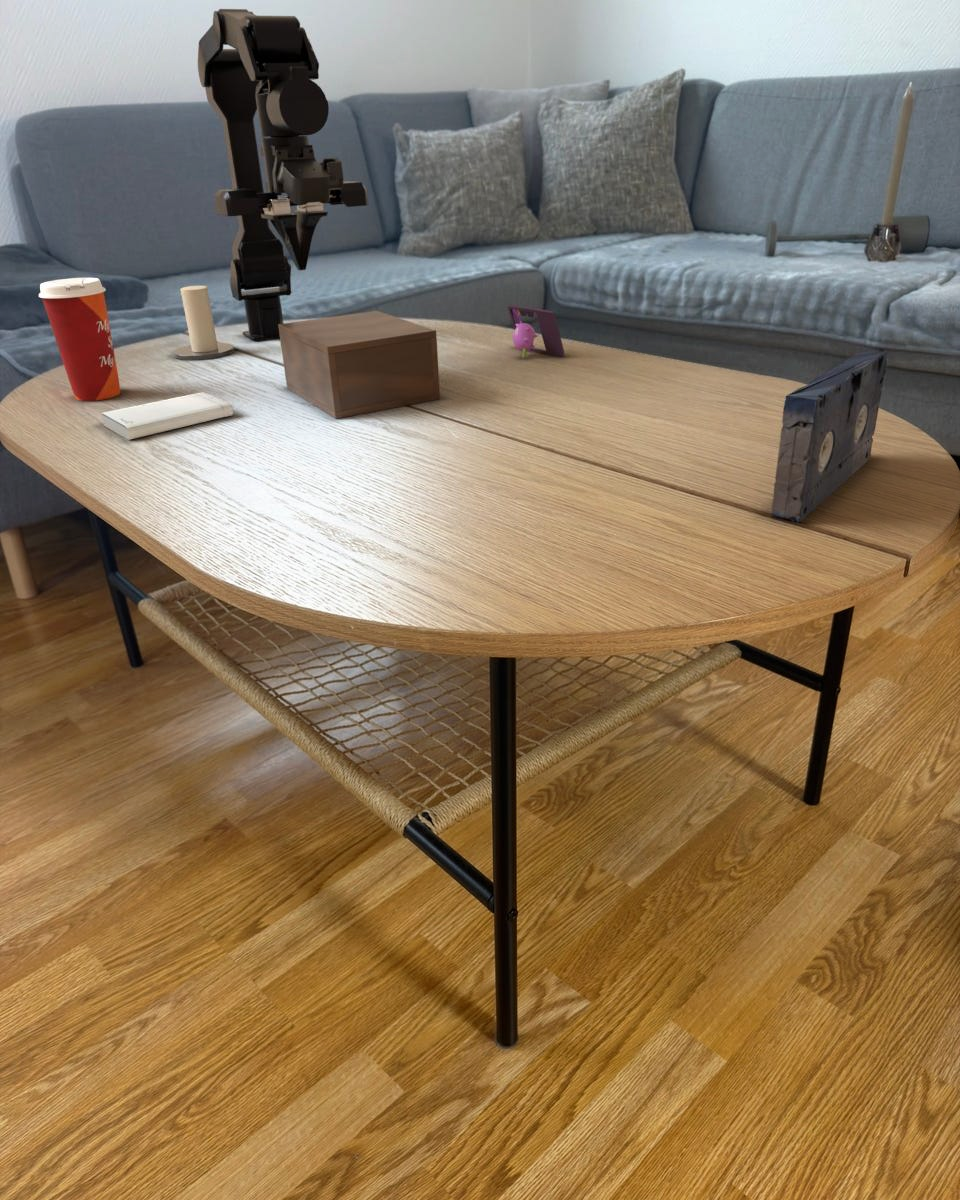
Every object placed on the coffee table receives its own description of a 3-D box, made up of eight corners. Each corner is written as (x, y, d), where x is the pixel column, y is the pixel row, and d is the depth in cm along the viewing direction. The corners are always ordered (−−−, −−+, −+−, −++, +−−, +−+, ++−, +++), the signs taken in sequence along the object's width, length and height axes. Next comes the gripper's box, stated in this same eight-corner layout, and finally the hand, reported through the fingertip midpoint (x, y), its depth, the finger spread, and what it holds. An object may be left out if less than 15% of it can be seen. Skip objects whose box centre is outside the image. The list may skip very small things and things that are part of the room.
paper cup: (135, 396, 111) (108, 281, 105) (71, 406, 108) (40, 288, 101) (122, 384, 117) (96, 274, 111) (61, 393, 114) (31, 281, 107)
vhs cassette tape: (843, 454, 83) (861, 348, 78) (875, 459, 81) (896, 351, 76) (763, 516, 71) (778, 394, 66) (798, 524, 69) (817, 400, 64)
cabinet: (287, 388, 112) (277, 324, 108) (382, 372, 118) (377, 310, 114) (335, 418, 99) (327, 347, 95) (440, 398, 105) (436, 330, 101)
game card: (557, 308, 118) (512, 301, 124) (532, 327, 116) (487, 319, 122) (568, 353, 122) (524, 344, 128) (544, 372, 120) (500, 362, 126)
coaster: (167, 352, 134) (166, 348, 134) (225, 343, 138) (224, 340, 138) (181, 362, 127) (180, 358, 127) (241, 354, 131) (241, 349, 131)
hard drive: (126, 426, 94) (231, 402, 101) (99, 412, 100) (201, 389, 106) (130, 441, 95) (234, 416, 102) (103, 426, 100) (203, 403, 107)
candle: (189, 349, 132) (177, 287, 128) (214, 345, 134) (203, 284, 130) (195, 353, 130) (183, 290, 125) (221, 350, 131) (210, 287, 127)
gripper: (229, 138, 97) (251, 285, 105) (380, 132, 105) (391, 268, 113) (203, 140, 106) (225, 275, 113) (344, 134, 114) (357, 260, 121)
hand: (301, 270), depth 115 cm, fingers closed
